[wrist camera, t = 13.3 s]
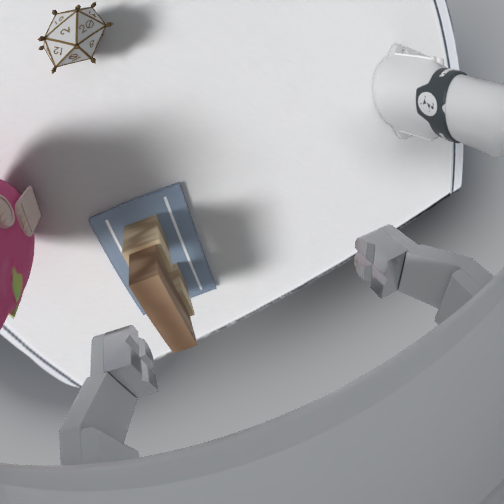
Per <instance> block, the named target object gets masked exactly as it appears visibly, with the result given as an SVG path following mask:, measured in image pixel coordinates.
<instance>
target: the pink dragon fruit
mask: <svg viewBox="0 0 504 504" xmlns="http://www.w3.org/2000/svg"><path fill="white" fill-rule="evenodd" d="M40 218H41V213H40V210H39V207H38V204H37V201H36V198H35V195H34V192H33V189H32V186H31V185H30V186H28V187H27V188H26V190H25V191H24V192H23V194H22V195H20V193H19V192H18V191H17V190H16V189H15V188H14V187H13V186H11V185H10V184H9V183H7V182H5V181H3V180H1V179H0V329H1V327H2V326H3V324H4V322H5V320H6V318H7V316H8V315H10V316H11V317H12V318H13V319H14V317H15V314H16V311H17V309H18V306H19V303H20V301H21V297H22V294H23V290H24V288H25V286H26V284H27V281H28V278H29V275H30V271H31V267H32V262H33V256H34V231H35V229H36V226H37V224H38V222H39V220H40Z"/></svg>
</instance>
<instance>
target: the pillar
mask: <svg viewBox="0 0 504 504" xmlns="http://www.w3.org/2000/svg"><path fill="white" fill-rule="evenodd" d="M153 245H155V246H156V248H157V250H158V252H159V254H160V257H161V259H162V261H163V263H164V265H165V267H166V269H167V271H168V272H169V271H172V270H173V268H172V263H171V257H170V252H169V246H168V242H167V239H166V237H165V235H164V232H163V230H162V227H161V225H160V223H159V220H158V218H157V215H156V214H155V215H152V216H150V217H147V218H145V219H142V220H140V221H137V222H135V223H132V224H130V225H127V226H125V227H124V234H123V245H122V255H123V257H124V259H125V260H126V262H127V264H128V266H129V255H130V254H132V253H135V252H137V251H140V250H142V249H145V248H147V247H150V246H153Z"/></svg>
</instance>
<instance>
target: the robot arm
mask: <svg viewBox="0 0 504 504" xmlns="http://www.w3.org/2000/svg"><path fill="white" fill-rule="evenodd" d="M373 93H374V100H375V104H376V107H377V110H378V112H379V114H380V116H381V117H382V118H383V120H384V121H385V122H386V123H387V124H389V125H390V126H391V127H392V128H393V129H394V131H395V133H396V135H397V136H398V137H399V138H400V139H406V138H408V137H410V136H412V135H413V136H416V137H420V138H423V139H426V140H430V141H433V139H436V138H438V137H442V138H444V139H445V140H448V141H451V142H455V143H463V144H466V145H468V146H470V147H472V148H475V149H477V150H479V151H481V152H483V153H485V154H487V155H489V156H491V157H503V156H504V83H499V82H494V81H489V80H484V79H480V78H476V77H471V76H468V75H467V74H465V73H464V72H461V71H459V70H456V69H449V68H446V67H445V66H444V59H441V58H438V57H432V56H429V57H428V56H426V55H424V54H422V53H420V52H417V51H415V50H413V49H410V48H408V47H406V46H403V45H401V44H393V46H392V48H391V50H390V53H389V55H388V56H387V57H386V58H385V59H384V60H383V61H382V62H381V63H380V65H379V67H378V69H377V71H376V74H375V77H374V84H373ZM355 248H356V249H357V250H358V252H357V254H356V255H355V257H354V265H355V268H356V271H357V273H358V275H359V276H360V277H361V278H362V279H363V280H364V281H368V282H370V288H371V289H372V290H373V291H374V292H375V293H376V294H377V295H378V296H379V297H380V298H383V297H385V296H387V295H389V294H391V293H393V292H395V291H397V290H398V291H399V292H402V293H404V294H406V295H409V296H411V297H413V298H415V299H418V300H420V301H422V302H425V303H427V304H429V305H431V306H434V307H436V308H438V309H439V310H438V312H437V314H436V316H435V322H436V323H437V324H438V326H436V327H435V328H434V329H432V330H431V331H430V332H428V333H427V334H426V335H424V336H423V337H422V338H420V339H419V340H417V341H416V342H415V343H413V344H412V345H410V346H409V347H407V348H406V349H405V350H403V351H401V352H400V353H398V354H397V355H395V356H394V357H392V358H390V359H389V360H387V361H386V362H384V363H382V364H381V365H379V366H378V367H376V368H374V369H373V370H371V371H369V372H368V373H366V374H364V375H362V376H361V377H359V378H357V379H355V380H354V381H352V382H350V383H348V384H346V385H344V386H343V387H341V388H339V389H337V390H335V391H333V392H331V393H329V394H327V395H325V396H323V397H321V398H319V399H317V400H315V401H313V402H311V403H308V404H306V405H304V406H302V407H300V408H298V409H295V410H293V411H291V412H288V413H286V414H284V415H281V416H279V417H276V418H274V419H272V420H269V421H266V422H264V423H262V424H259V425H256V426H253V427H251V428H248V429H245V430H242V431H239V432H237V433H233V434H230V435H228V436H225V437H221V438H218V439H215V440H211V441H208V442H204V443H201V444H197V445H194V446H190V447H186V448H182V449H178V450H174V451H170V452H165V453H160V454H155V455H150V456H145V457H139V453H138V451H137V450H135V449H134V448H131V447H129V446H127V445H125V444H124V441H125V437H126V434H127V431H128V427H129V424H130V421H131V418H132V415H133V412H134V409H135V406H136V403H137V400H138V399H137V398H139V397H142V396H145V395H148V394H152V393H155V392H158V385H157V379H156V375H155V374H154V373H153V371H152V368H153V366H154V360H153V356H152V353H151V350H150V348H149V346H148V344H147V343H146V341H145V340H144V339H142V338H139V337H138V331H137V330H136V328H135V327H134V326H133V325H129V326H126V327H123V328H120V329H116V330H113V331H110V332H107V333H105V334H101V335H98V336H95V337H93V339H92V344H91V369H90V377H88V378H87V379H86V380H85V382H84V384H83V386H82V388H81V390H80V392H79V393H78V395H77V397H76V399H75V401H74V403H73V405H72V407H71V409H70V410H69V412H68V414H67V416H66V418H65V420H64V422H63V424H62V426H61V428H60V430H59V440H60V459H61V465H54V466H42V465H40V466H39V465H37V466H36V465H17V464H6V463H0V504H504V267H503V268H502V269H501V270H500V271H499V273H497V275H495V276H493V275H492V274H490V273H489V272H488V271H487V270H486V269H485V268H483V267H482V266H481V265H480V264H479V263H477V262H476V261H475V260H474V259H473V258H470V257H466V256H463V255H459V254H455V253H452V252H448V251H444V250H441V249H437V248H433V247H429V246H425V245H419V246H418V245H417V244H416V243H414V242H413V241H412V240H411V239H409V238H408V237H407V236H405V235H404V234H403V233H401V232H400V231H399V230H398V229H396V228H395V227H393V226H392V225H386V226H384V227H382V228H379V229H378V230H375V231H373V232H370V233H368V234H366V235H363V236H361V237H359V238H357V240H356V242H355Z"/></svg>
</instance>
